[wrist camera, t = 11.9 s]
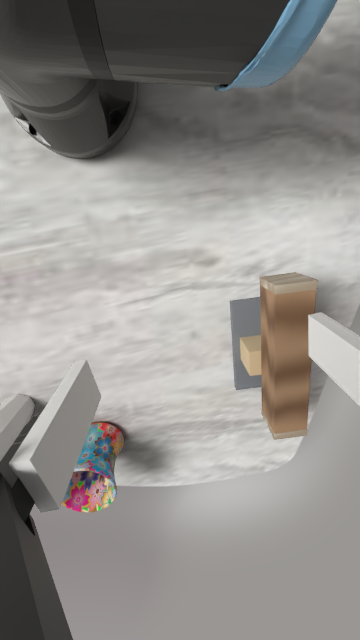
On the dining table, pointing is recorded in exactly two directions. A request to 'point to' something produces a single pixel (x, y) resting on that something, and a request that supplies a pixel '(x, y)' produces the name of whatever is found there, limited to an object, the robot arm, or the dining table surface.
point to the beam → (286, 352)
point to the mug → (95, 470)
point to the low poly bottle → (13, 419)
